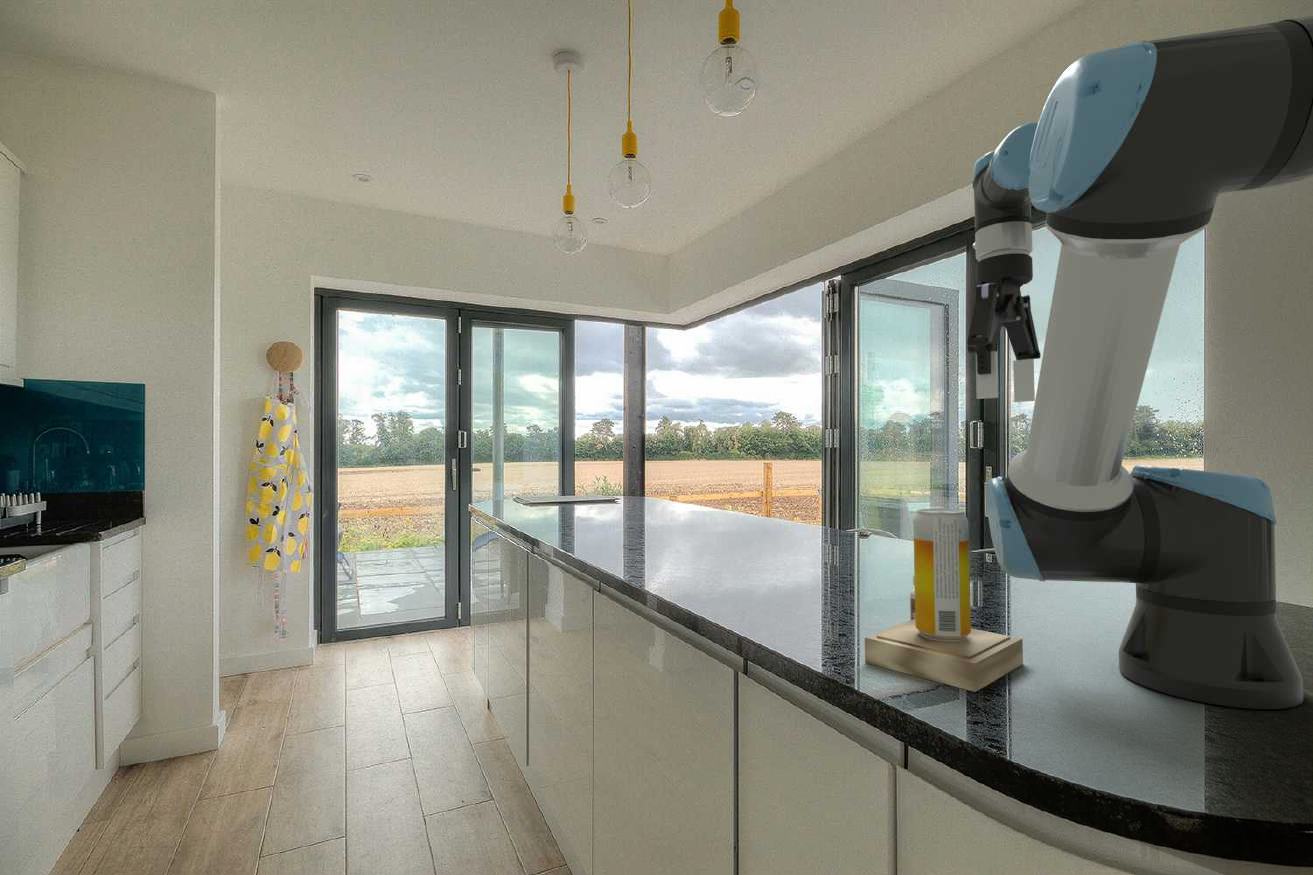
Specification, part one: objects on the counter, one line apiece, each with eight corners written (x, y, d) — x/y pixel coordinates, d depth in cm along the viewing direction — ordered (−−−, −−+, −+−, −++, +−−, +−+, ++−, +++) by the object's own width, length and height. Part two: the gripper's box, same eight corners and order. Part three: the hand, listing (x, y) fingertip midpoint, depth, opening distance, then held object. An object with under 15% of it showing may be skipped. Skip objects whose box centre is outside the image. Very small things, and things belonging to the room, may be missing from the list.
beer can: (960, 629, 80) (957, 508, 81) (979, 644, 74) (976, 513, 74) (909, 628, 81) (906, 508, 81) (924, 643, 75) (921, 513, 75)
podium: (1023, 663, 77) (1022, 636, 77) (975, 692, 68) (974, 661, 68) (918, 640, 87) (917, 616, 87) (865, 662, 78) (864, 635, 78)
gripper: (1010, 277, 108) (1013, 404, 108) (939, 248, 92) (942, 398, 91) (1060, 267, 102) (1064, 401, 102) (994, 235, 86) (998, 394, 86)
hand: (1006, 400), depth 97 cm, fingers open, 13 cm apart
